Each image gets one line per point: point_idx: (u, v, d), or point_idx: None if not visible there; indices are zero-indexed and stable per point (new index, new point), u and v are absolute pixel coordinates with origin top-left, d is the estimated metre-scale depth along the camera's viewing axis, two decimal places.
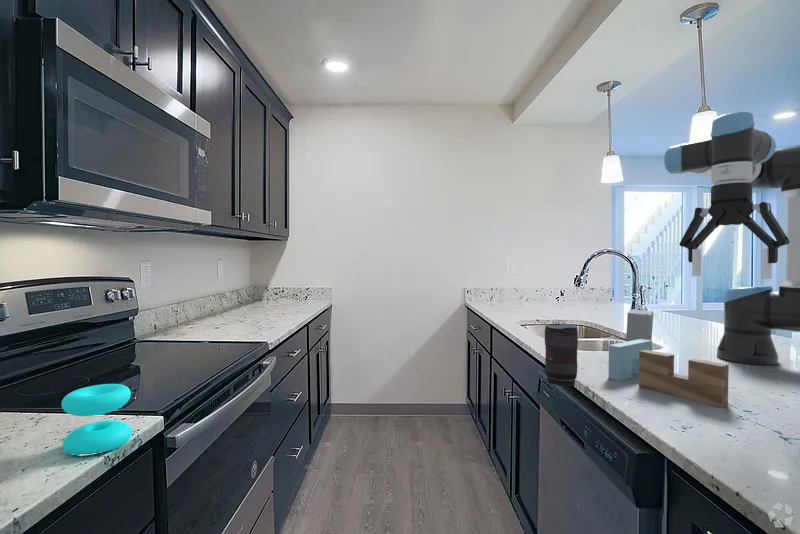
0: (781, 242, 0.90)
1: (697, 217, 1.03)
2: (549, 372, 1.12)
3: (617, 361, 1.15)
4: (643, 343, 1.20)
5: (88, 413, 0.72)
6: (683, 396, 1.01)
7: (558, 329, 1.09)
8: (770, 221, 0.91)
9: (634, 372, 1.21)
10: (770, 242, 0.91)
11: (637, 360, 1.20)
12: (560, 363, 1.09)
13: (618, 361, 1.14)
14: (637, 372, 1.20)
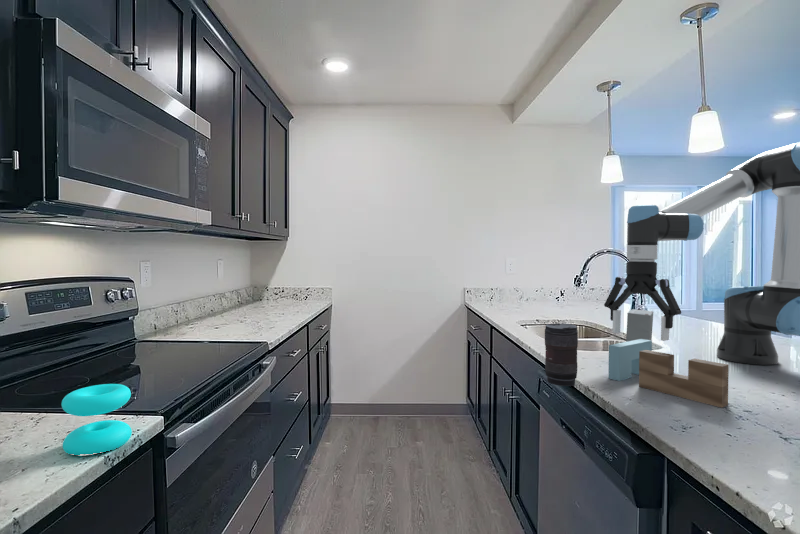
0: (674, 313, 1.13)
1: (617, 284, 1.26)
2: (549, 372, 1.12)
3: (617, 361, 1.15)
4: (643, 343, 1.20)
5: (88, 413, 0.72)
6: (683, 396, 1.01)
7: (558, 329, 1.09)
8: (666, 295, 1.15)
9: (634, 372, 1.21)
10: (666, 312, 1.15)
11: (637, 360, 1.20)
12: (560, 363, 1.09)
13: (618, 361, 1.14)
14: (637, 372, 1.20)
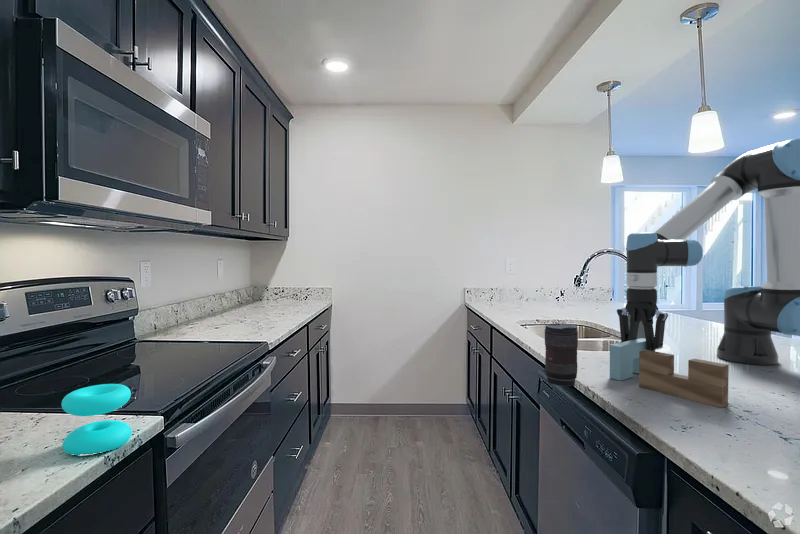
0: (655, 346, 1.18)
1: (621, 316, 1.26)
2: (549, 372, 1.12)
3: (618, 361, 1.15)
4: (644, 342, 1.20)
5: (88, 413, 0.72)
6: (683, 396, 1.01)
7: (558, 329, 1.09)
8: (658, 329, 1.17)
9: (635, 371, 1.21)
10: (649, 345, 1.19)
11: (638, 359, 1.21)
12: (560, 363, 1.09)
13: (619, 361, 1.14)
14: (638, 371, 1.21)
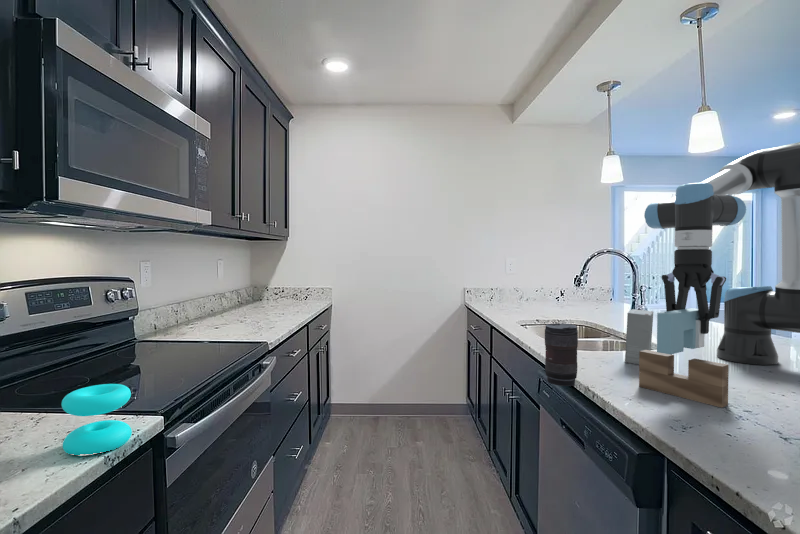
0: (710, 316, 1.00)
1: (667, 283, 1.08)
2: (549, 372, 1.12)
3: (668, 331, 0.97)
4: (696, 312, 1.03)
5: (88, 413, 0.72)
6: (683, 396, 1.01)
7: (558, 329, 1.09)
8: (714, 295, 1.00)
9: (684, 345, 1.04)
10: (703, 315, 1.02)
11: (689, 332, 1.03)
12: (560, 363, 1.09)
13: (669, 331, 0.97)
14: (689, 346, 1.03)
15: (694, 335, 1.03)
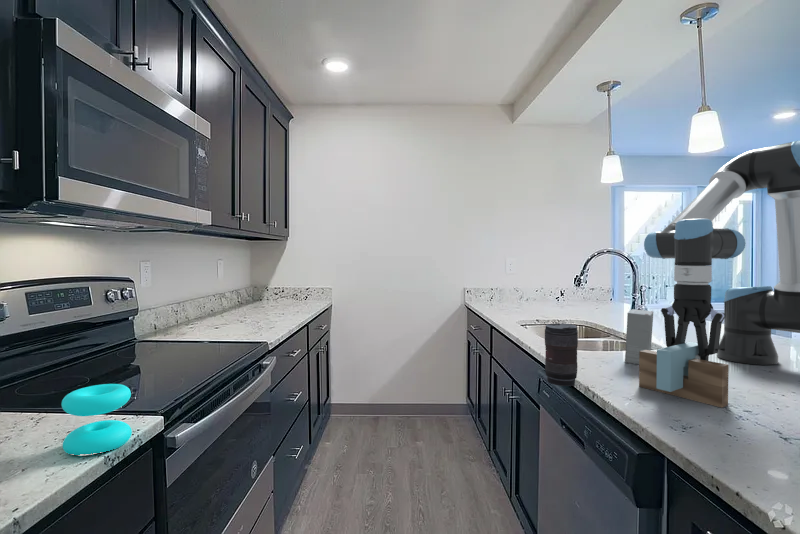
0: (710, 352, 1.00)
1: (667, 316, 1.08)
2: (549, 372, 1.12)
3: (668, 368, 0.97)
4: (695, 347, 1.03)
5: (88, 413, 0.72)
6: (683, 396, 1.01)
7: (558, 329, 1.09)
8: (714, 332, 1.00)
9: None
10: (703, 351, 1.02)
11: None
12: (560, 363, 1.09)
13: (669, 368, 0.97)
14: None
15: None
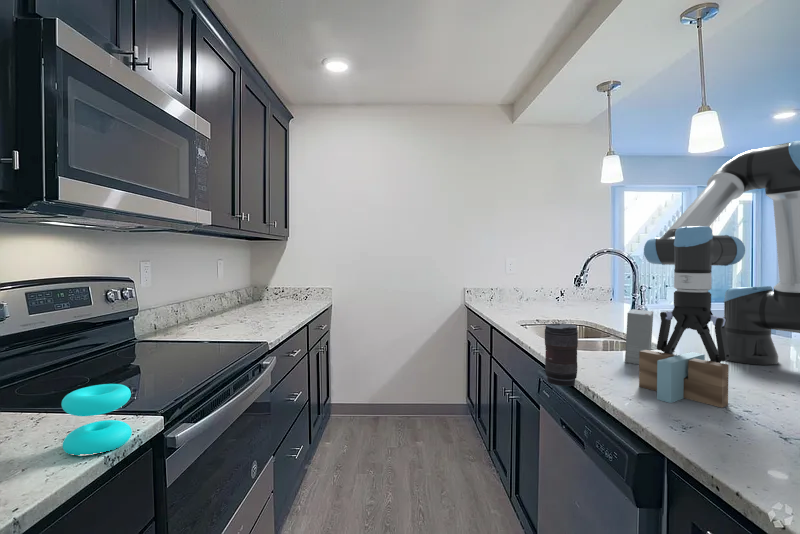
0: (721, 359, 0.99)
1: (664, 321, 1.09)
2: (549, 372, 1.12)
3: (668, 380, 0.97)
4: (696, 358, 1.03)
5: (88, 413, 0.72)
6: (683, 396, 1.01)
7: (558, 329, 1.09)
8: (719, 337, 0.99)
9: None
10: (713, 357, 1.00)
11: None
12: (560, 363, 1.09)
13: (669, 380, 0.97)
14: None
15: None
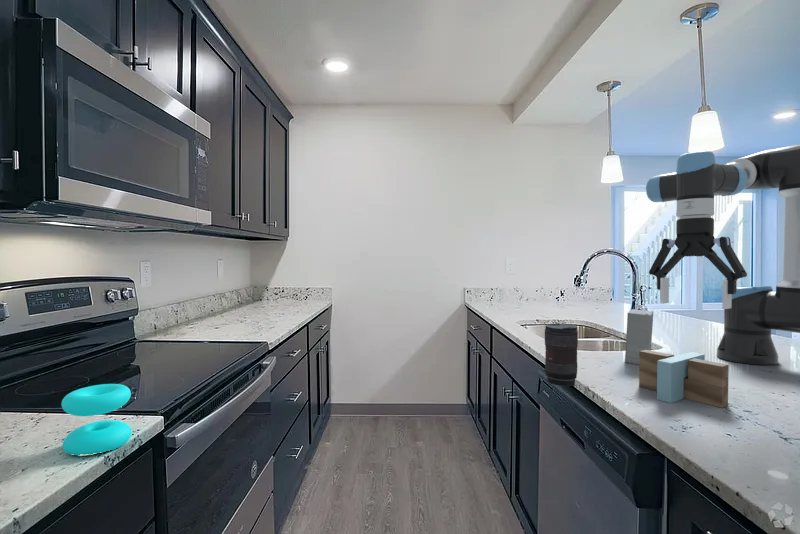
0: (739, 275, 0.96)
1: (664, 248, 1.09)
2: (549, 372, 1.12)
3: (668, 380, 0.97)
4: (696, 358, 1.03)
5: (88, 413, 0.72)
6: (683, 396, 1.01)
7: (558, 329, 1.09)
8: (729, 255, 0.98)
9: None
10: (729, 275, 0.98)
11: None
12: (560, 363, 1.09)
13: (669, 380, 0.97)
14: None
15: None
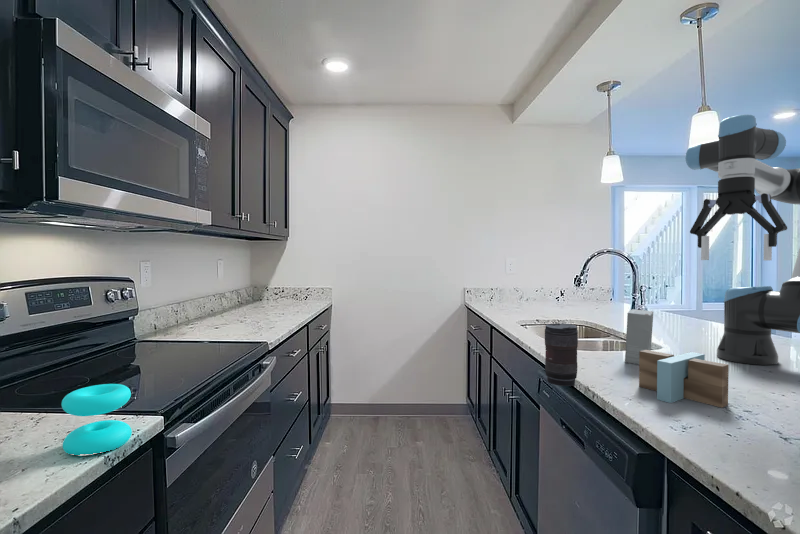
0: (780, 228, 1.03)
1: (706, 207, 1.17)
2: (549, 372, 1.12)
3: (668, 380, 0.97)
4: (696, 358, 1.03)
5: (88, 413, 0.72)
6: (683, 396, 1.01)
7: (558, 329, 1.09)
8: (770, 210, 1.05)
9: None
10: (770, 228, 1.05)
11: None
12: (560, 363, 1.09)
13: (669, 380, 0.97)
14: None
15: None
